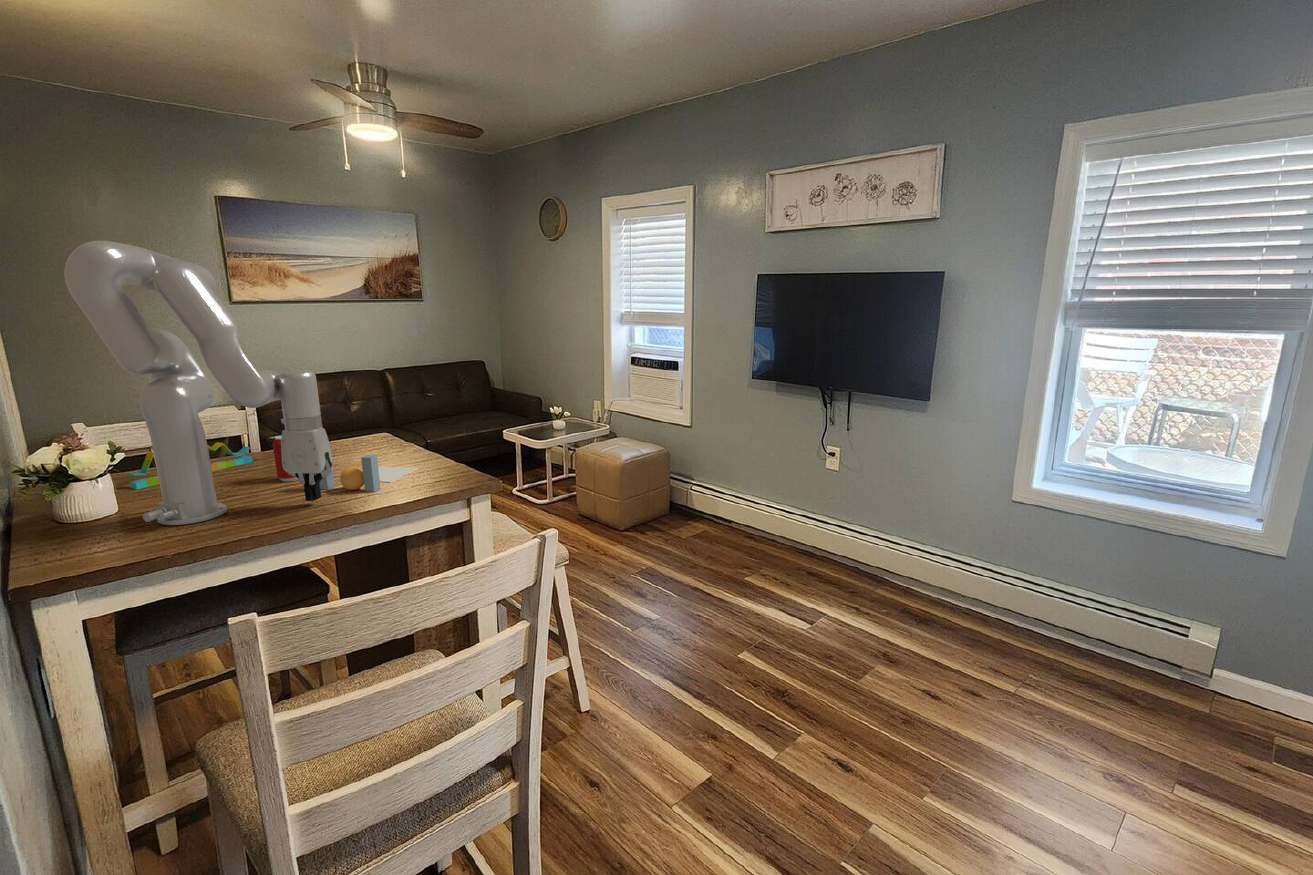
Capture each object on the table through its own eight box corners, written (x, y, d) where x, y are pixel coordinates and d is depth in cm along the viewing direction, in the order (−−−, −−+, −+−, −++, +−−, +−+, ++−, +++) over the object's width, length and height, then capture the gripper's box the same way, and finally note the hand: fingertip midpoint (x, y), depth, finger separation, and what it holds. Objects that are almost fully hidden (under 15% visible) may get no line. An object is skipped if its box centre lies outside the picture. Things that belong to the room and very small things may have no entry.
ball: (370, 489, 158) (354, 489, 152) (351, 490, 160) (334, 490, 154) (371, 466, 159) (354, 465, 153) (351, 467, 160) (334, 466, 155)
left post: (328, 489, 157) (323, 455, 155) (319, 489, 157) (314, 455, 156) (334, 486, 160) (330, 453, 158) (326, 486, 160) (321, 453, 158)
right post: (374, 491, 155) (370, 457, 153) (365, 491, 155) (361, 457, 153) (380, 488, 157) (376, 455, 155) (371, 488, 158) (367, 454, 156)
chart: (245, 461, 187) (238, 413, 184) (252, 462, 186) (245, 414, 183) (130, 488, 160) (118, 433, 157) (137, 490, 159) (126, 434, 155)
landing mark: (390, 482, 163) (390, 481, 163) (343, 480, 165) (343, 479, 165) (418, 468, 177) (418, 468, 176) (374, 466, 179) (374, 466, 179)
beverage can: (295, 482, 164) (289, 439, 161) (272, 482, 164) (266, 439, 161) (309, 476, 170) (303, 434, 167) (287, 476, 170) (281, 434, 167)
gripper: (262, 426, 138) (273, 503, 142) (321, 427, 136) (331, 506, 140) (286, 419, 145) (297, 493, 149) (343, 421, 143) (352, 496, 147)
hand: (313, 499), depth 145 cm, fingers closed
